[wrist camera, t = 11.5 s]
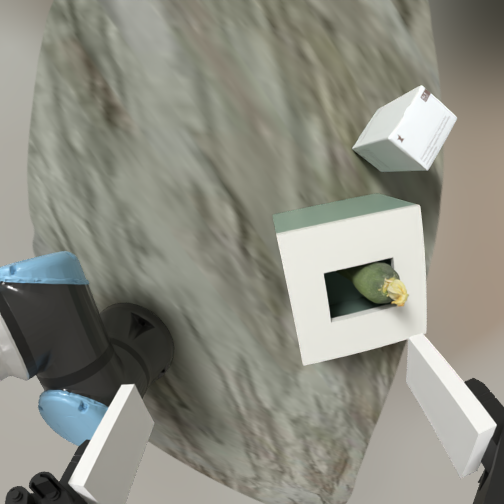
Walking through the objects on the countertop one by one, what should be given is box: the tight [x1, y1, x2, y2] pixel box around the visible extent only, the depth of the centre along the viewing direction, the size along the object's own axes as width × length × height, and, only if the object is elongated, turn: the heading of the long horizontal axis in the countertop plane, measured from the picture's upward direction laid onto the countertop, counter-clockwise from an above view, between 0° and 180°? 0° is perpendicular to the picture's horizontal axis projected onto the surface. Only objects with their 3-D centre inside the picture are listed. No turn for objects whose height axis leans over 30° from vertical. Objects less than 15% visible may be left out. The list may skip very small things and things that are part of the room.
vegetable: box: [335, 261, 409, 307], centre depth 37 cm, size 4×4×20 cm
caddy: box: [273, 193, 427, 365], centre depth 41 cm, size 16×16×14 cm
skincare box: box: [352, 85, 457, 172], centre depth 35 cm, size 8×6×15 cm
